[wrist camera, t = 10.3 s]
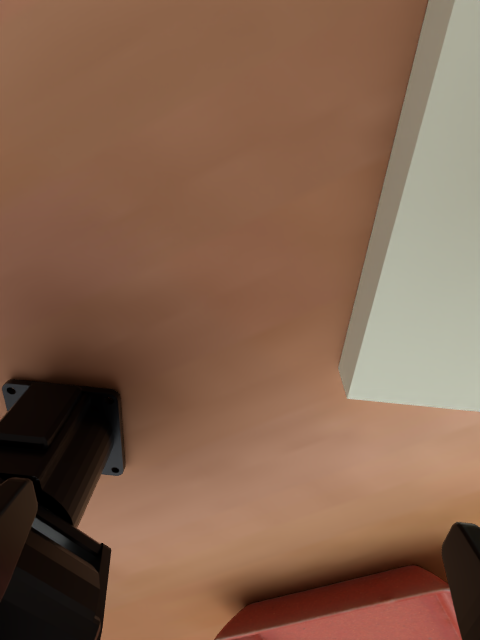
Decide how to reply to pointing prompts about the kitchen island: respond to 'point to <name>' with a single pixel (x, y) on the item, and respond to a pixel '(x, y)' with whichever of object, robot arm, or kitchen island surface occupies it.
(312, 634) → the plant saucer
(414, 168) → the socket board
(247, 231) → the kitchen island surface
